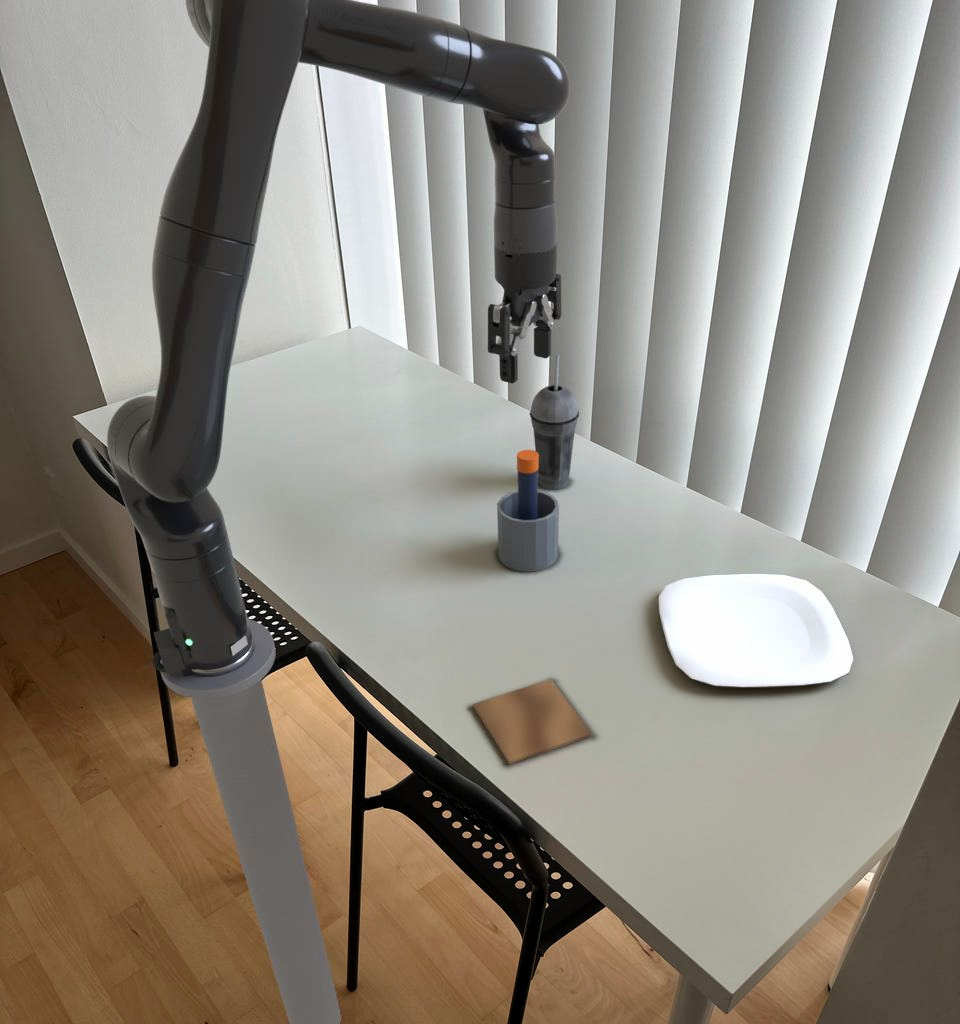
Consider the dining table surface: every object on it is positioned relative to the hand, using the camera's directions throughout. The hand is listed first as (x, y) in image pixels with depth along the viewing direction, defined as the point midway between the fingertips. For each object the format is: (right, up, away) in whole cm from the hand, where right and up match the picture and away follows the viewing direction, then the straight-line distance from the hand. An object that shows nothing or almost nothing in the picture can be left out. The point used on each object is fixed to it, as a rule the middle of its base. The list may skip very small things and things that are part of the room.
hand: (525, 368), depth 127 cm
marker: (+1, -23, +9) cm, 25 cm away
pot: (+1, -23, +9) cm, 25 cm away
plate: (+27, -35, -6) cm, 45 cm away
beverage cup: (+5, -11, +24) cm, 27 cm away
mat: (0, -44, -16) cm, 47 cm away
